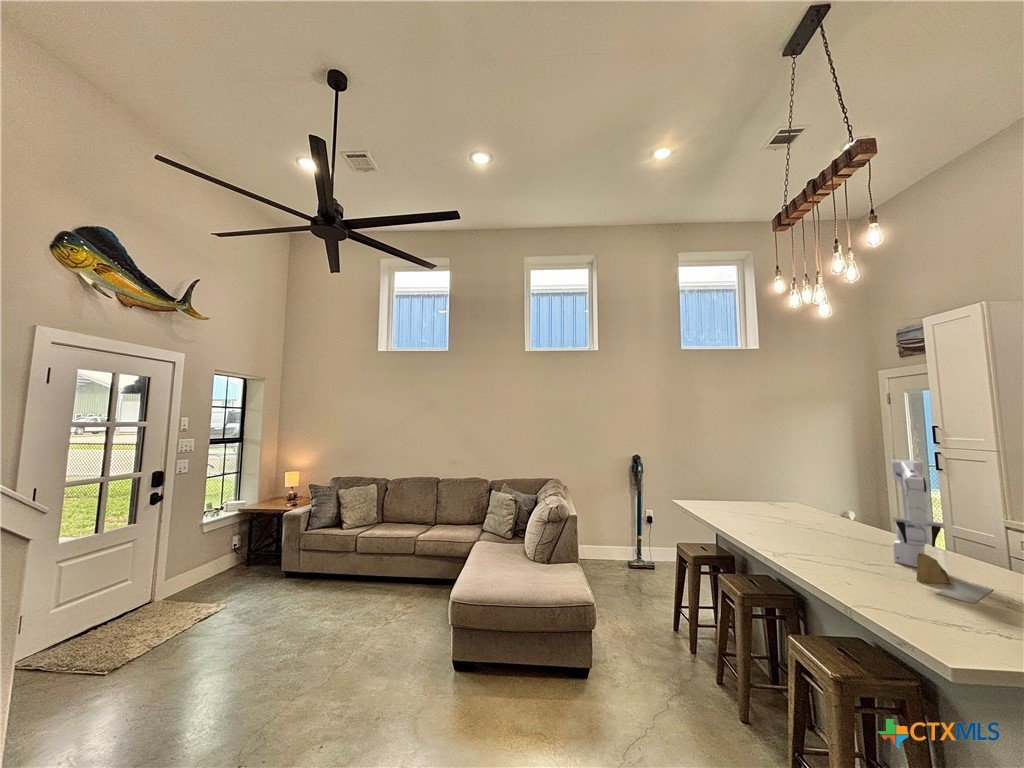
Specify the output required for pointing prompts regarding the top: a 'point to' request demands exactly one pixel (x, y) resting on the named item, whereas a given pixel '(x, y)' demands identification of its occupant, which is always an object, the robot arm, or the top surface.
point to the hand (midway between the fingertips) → (919, 544)
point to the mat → (965, 592)
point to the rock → (930, 570)
